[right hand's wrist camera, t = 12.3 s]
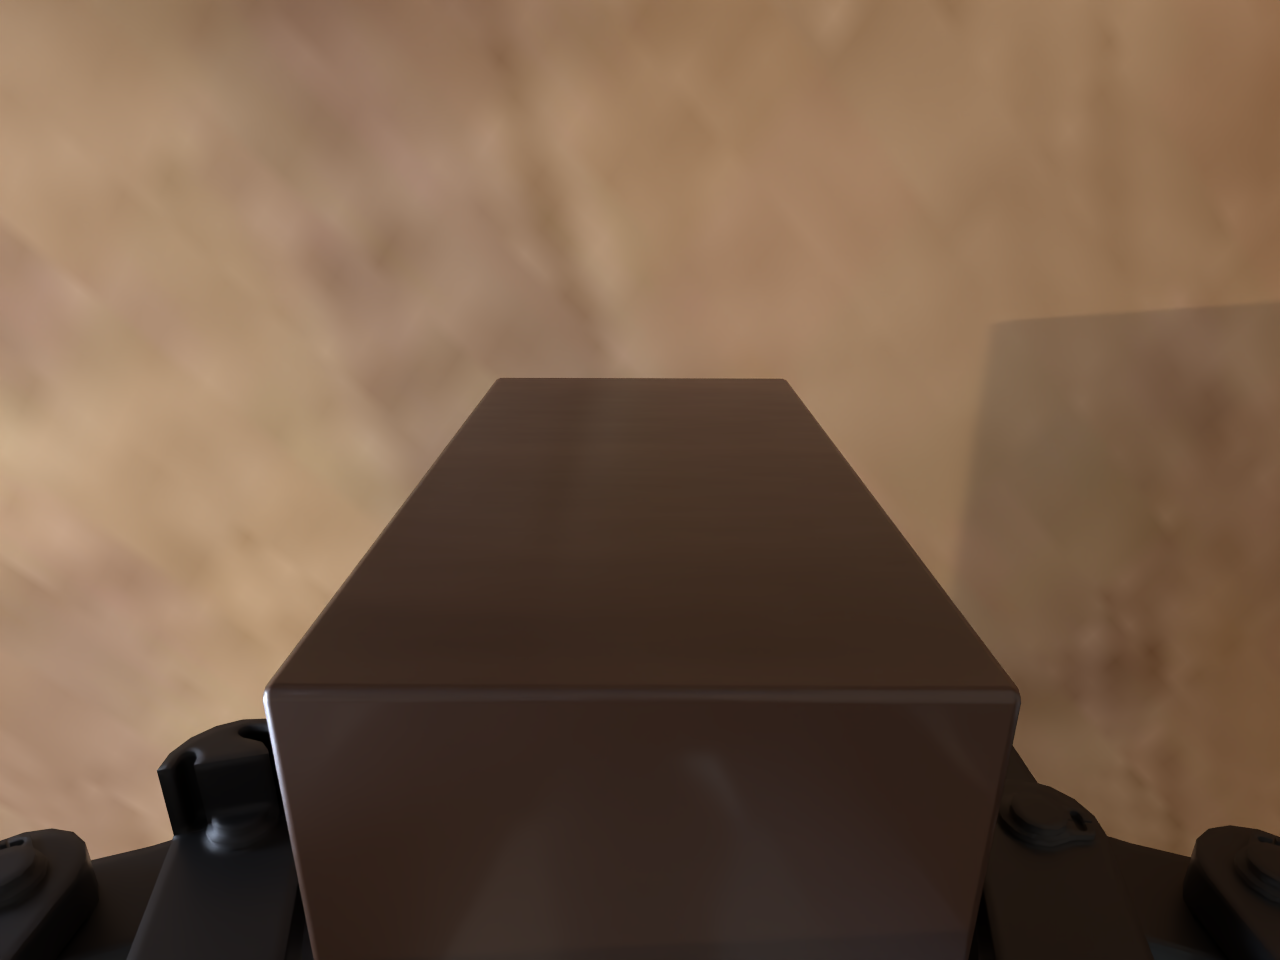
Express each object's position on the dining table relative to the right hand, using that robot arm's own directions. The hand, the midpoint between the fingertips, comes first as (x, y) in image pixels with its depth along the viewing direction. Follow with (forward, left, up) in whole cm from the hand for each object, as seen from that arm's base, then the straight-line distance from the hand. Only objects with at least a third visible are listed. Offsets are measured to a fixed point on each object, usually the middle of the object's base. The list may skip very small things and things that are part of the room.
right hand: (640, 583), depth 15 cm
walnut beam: (0, -12, 0) cm, 12 cm away
